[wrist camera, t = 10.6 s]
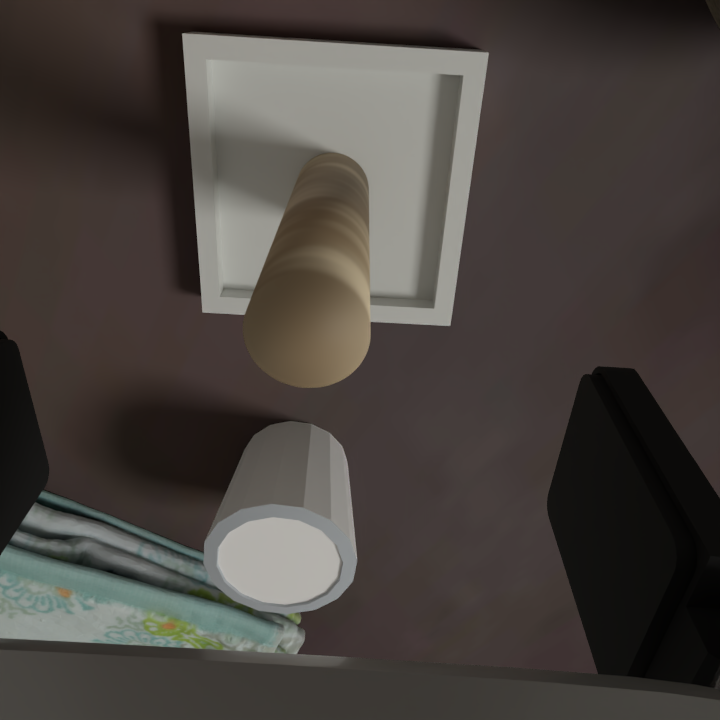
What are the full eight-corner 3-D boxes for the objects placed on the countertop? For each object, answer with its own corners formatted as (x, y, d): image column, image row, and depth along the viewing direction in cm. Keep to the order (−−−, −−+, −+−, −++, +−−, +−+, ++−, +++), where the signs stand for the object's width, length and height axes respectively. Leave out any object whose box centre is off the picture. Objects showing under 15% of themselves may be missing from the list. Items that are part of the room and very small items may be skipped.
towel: (202, 732, 47) (185, 808, 43) (-93, 636, 42) (-147, 711, 38) (318, 587, 39) (312, 661, 35) (-27, 448, 34) (-86, 514, 30)
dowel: (371, 154, 25) (374, 277, 14) (366, 227, 27) (366, 391, 16) (296, 150, 25) (240, 270, 14) (296, 223, 27) (245, 384, 16)
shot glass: (379, 488, 35) (381, 591, 29) (270, 526, 36) (250, 631, 30) (324, 392, 32) (314, 485, 26) (207, 438, 33) (171, 536, 27)
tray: (482, 49, 24) (488, 52, 23) (446, 311, 30) (450, 325, 28) (192, 31, 24) (181, 33, 23) (209, 298, 29) (202, 312, 28)
